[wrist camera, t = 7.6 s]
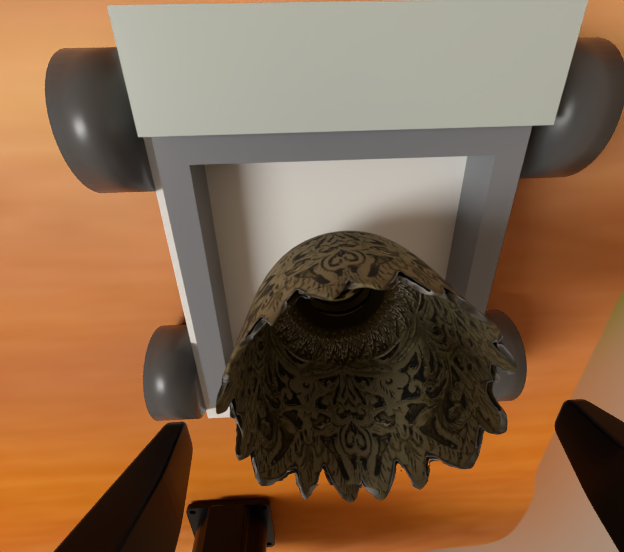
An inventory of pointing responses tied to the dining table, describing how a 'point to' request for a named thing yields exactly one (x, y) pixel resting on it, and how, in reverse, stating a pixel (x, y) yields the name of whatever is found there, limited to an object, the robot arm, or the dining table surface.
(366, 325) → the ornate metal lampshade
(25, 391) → the dining table surface
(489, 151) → the car chassis
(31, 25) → the dining table surface
